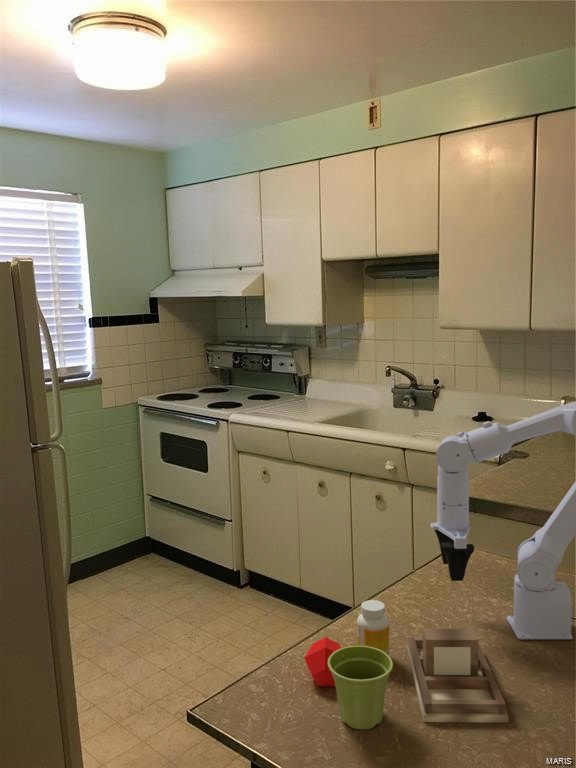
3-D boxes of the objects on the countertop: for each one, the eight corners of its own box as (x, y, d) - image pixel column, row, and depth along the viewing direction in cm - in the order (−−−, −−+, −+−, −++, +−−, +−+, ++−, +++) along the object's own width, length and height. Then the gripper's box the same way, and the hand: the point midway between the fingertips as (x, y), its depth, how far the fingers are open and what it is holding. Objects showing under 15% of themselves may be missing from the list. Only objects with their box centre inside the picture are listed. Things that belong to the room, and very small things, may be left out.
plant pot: (329, 738, 93) (328, 680, 91) (328, 698, 102) (327, 645, 101) (396, 738, 92) (396, 680, 91) (389, 698, 101) (389, 644, 100)
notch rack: (476, 649, 115) (476, 635, 114) (508, 722, 95) (508, 706, 94) (406, 649, 115) (406, 635, 115) (423, 721, 95) (423, 705, 95)
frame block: (473, 669, 106) (473, 628, 106) (478, 682, 103) (478, 640, 102) (422, 669, 107) (422, 628, 106) (426, 682, 103) (426, 640, 102)
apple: (343, 665, 101) (342, 623, 108) (300, 670, 102) (302, 628, 109) (352, 694, 104) (351, 652, 111) (310, 698, 106) (312, 656, 113)
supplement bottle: (350, 657, 113) (350, 604, 112) (372, 646, 116) (372, 595, 115) (374, 670, 109) (373, 615, 108) (395, 659, 112) (395, 605, 111)
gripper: (425, 490, 130) (425, 556, 132) (437, 514, 116) (437, 588, 117) (461, 490, 130) (461, 556, 131) (478, 513, 115) (478, 588, 117)
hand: (452, 571), depth 124 cm, fingers open, 7 cm apart
